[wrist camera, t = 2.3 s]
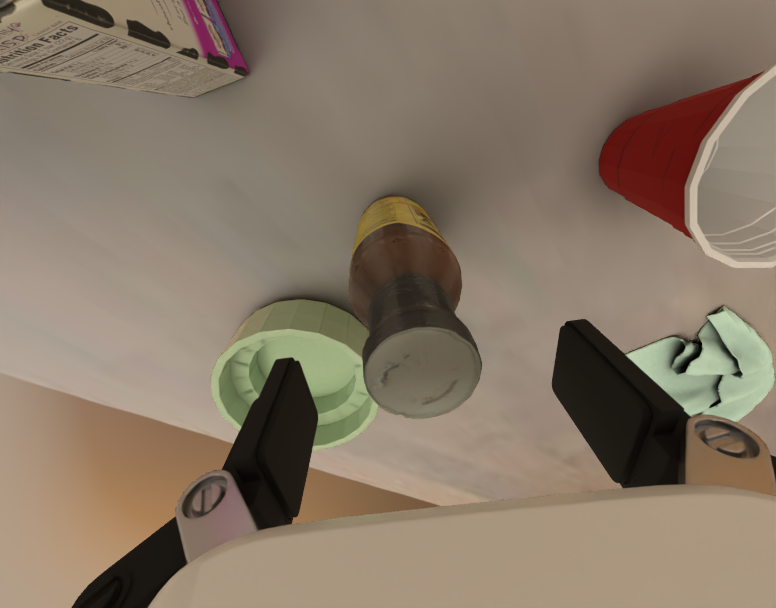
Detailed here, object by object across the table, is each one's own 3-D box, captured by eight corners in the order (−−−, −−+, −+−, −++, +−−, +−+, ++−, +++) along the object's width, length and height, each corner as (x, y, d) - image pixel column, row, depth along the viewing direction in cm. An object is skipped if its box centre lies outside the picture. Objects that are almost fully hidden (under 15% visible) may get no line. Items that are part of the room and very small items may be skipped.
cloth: (729, 432, 44) (747, 447, 42) (578, 434, 43) (588, 450, 41) (834, 306, 34) (865, 317, 32) (641, 304, 33) (660, 316, 31)
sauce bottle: (433, 252, 29) (520, 434, 12) (367, 267, 30) (360, 462, 12) (421, 181, 26) (517, 284, 9) (348, 198, 26) (302, 331, 9)
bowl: (237, 398, 37) (215, 443, 32) (234, 283, 30) (205, 316, 25) (365, 413, 39) (364, 457, 34) (392, 309, 32) (395, 344, 27)
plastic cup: (725, 52, 23) (1028, -14, 12) (685, 203, 28) (873, 248, 17) (572, 87, 23) (735, 53, 13) (561, 228, 28) (670, 285, 18)
